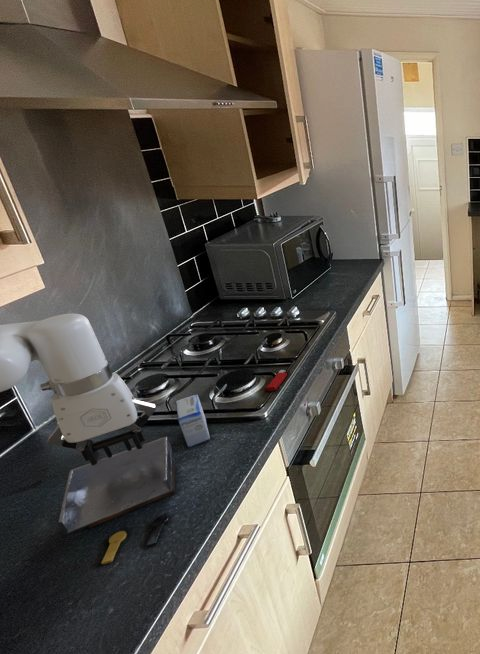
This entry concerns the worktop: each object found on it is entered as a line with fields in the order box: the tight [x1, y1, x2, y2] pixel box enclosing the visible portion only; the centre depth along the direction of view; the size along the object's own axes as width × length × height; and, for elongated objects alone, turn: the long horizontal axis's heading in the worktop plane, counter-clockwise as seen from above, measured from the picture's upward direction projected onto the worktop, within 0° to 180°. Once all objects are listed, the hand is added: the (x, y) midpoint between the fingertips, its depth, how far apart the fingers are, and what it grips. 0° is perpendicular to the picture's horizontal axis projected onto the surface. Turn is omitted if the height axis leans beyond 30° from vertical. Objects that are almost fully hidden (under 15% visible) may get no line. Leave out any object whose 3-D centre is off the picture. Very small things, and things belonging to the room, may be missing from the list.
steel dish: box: [58, 430, 173, 535], centre depth 80 cm, size 15×13×8 cm
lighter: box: [265, 369, 289, 392], centre depth 119 cm, size 3×1×8 cm
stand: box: [87, 464, 176, 529], centre depth 84 cm, size 13×7×5 cm, turn 127°
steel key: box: [146, 514, 170, 547], centre depth 79 cm, size 2×6×1 cm, turn 21°
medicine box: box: [175, 394, 211, 448], centre depth 99 cm, size 8×4×9 cm, turn 40°
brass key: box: [100, 530, 128, 566], centre depth 76 cm, size 2×6×1 cm, turn 23°
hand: (118, 451), depth 83 cm, fingers closed on steel dish, 6 cm apart
